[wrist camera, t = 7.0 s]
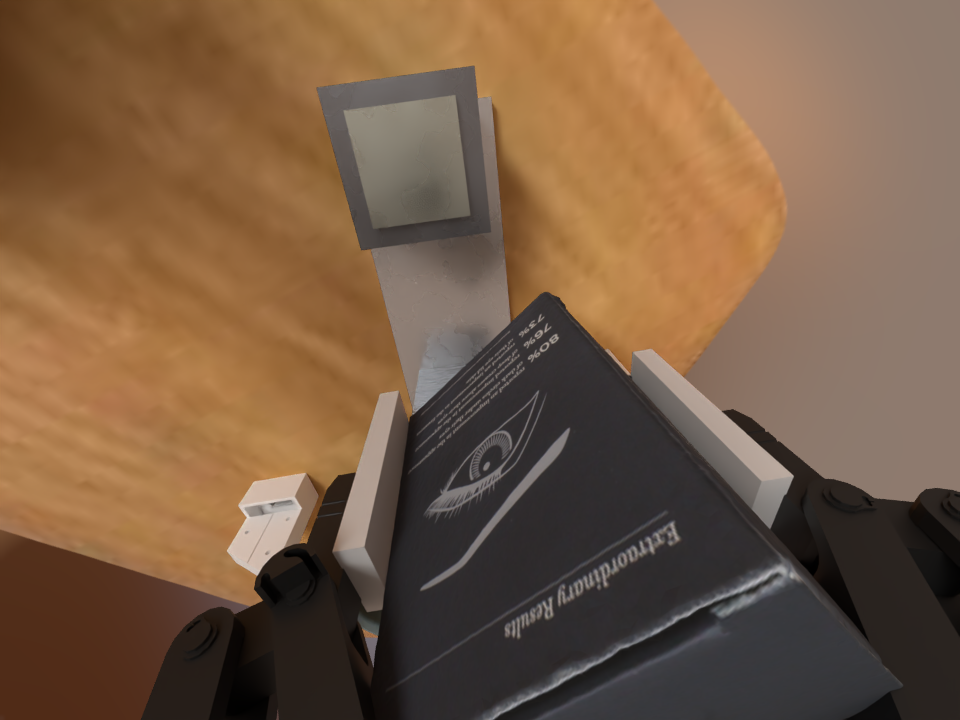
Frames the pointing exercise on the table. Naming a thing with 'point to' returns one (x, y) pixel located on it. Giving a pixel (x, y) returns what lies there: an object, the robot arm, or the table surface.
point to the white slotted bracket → (272, 519)
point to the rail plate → (448, 285)
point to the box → (592, 560)
